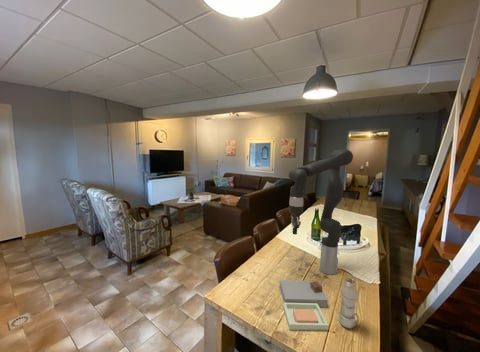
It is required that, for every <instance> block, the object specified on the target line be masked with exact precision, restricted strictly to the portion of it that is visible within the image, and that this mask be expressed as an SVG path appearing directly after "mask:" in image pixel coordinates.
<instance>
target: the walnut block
mask: <svg viewBox="0 0 480 352" xmlns="http://www.w3.org/2000/svg"><path fill="white" fill-rule="evenodd" d="M314 281H315V282H310V288H311V289H312V290H313V291H314V293H317V292H322V291H323V285H322V284H321V283H320V282H319V281H318V280H314Z"/></svg>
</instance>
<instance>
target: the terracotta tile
mask: <svg viewBox="0 0 480 352" xmlns="http://www.w3.org/2000/svg"><path fill="white" fill-rule="evenodd" d="M293 317H294V320H295V322H298V323H318V319H317V316H316V314H315V312H314V310H313V309H293Z"/></svg>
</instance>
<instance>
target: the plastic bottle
mask: <svg viewBox="0 0 480 352" xmlns="http://www.w3.org/2000/svg"><path fill="white" fill-rule="evenodd" d="M340 297H341V300H340V302H341V303H340V309H339V311H338V321H339V323H340V324H341V326H343V327H344V328H345V329H353V328H355V325H356V320H357V319H356V305H357V301H358V297H359V295H358V291H357V289H356V281H355V280H354V279H352V278H350V277H349V278H348V277H346V278H345V281H344V285H343V286H341V288H340Z"/></svg>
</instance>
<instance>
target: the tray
mask: <svg viewBox="0 0 480 352" xmlns="http://www.w3.org/2000/svg"><path fill="white" fill-rule="evenodd" d="M282 308H283V312H284V316H285V320H286V323H287V327H288V330H289V331H319V332H320V331H321V332H322V331H326V332H328V331H329V324H328V322H327V319H326V318H325V315H324V314H323V312H322V310H321V307H319V306H318V304H317V303H284V301H283V305H282ZM293 309H313V310H314V312H315V314H316V316H317V319H318V323H298V322H295V320H294V317H293Z"/></svg>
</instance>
